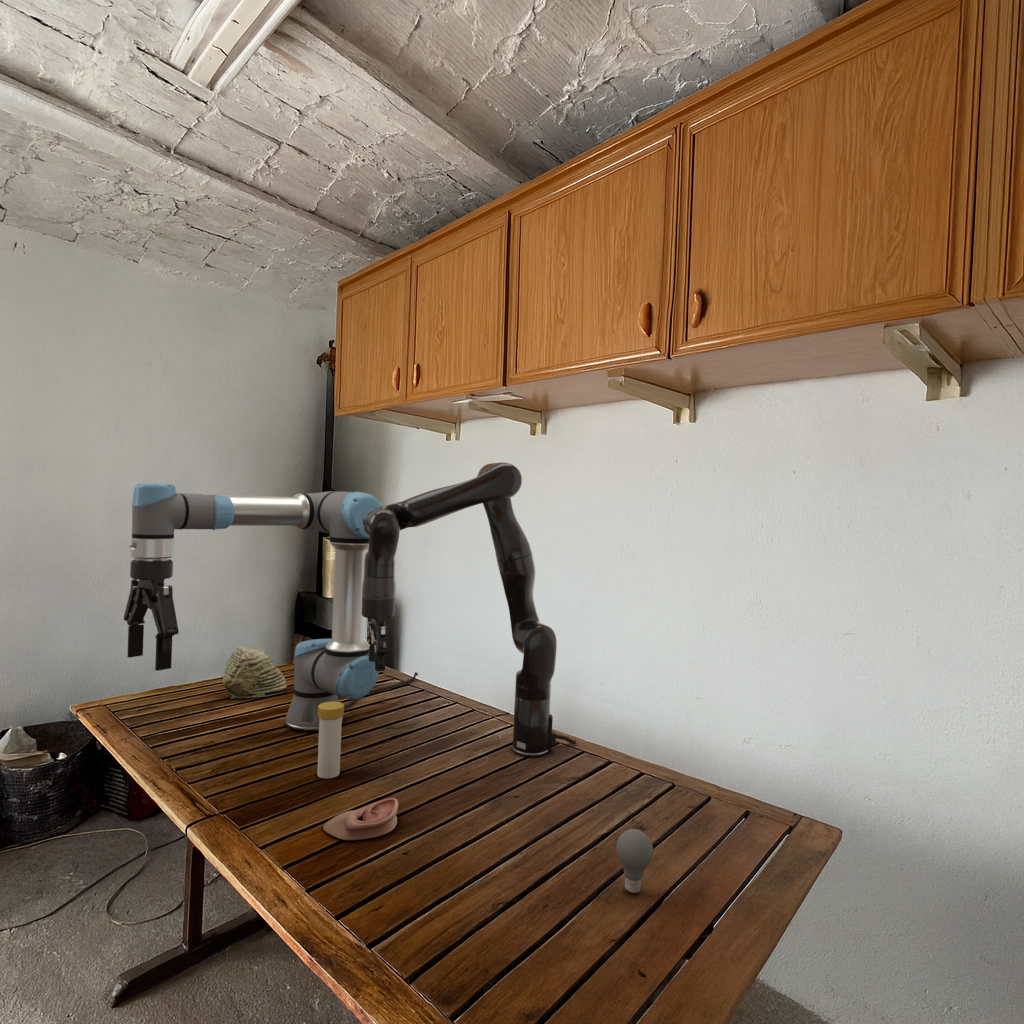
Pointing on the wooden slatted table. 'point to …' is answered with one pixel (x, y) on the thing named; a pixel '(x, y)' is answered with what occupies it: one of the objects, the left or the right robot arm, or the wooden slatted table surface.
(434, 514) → the right robot arm
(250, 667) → the fossil
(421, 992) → the wooden slatted table surface
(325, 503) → the left robot arm
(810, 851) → the wooden slatted table surface
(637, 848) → the light bulb
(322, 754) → the bottle
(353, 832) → the anatomical model
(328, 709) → the lid
